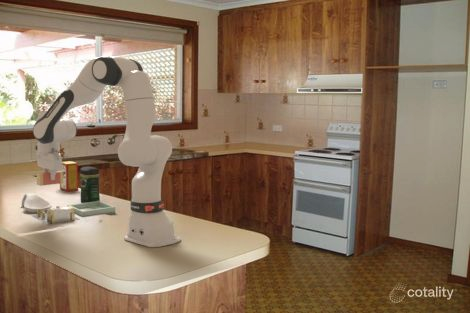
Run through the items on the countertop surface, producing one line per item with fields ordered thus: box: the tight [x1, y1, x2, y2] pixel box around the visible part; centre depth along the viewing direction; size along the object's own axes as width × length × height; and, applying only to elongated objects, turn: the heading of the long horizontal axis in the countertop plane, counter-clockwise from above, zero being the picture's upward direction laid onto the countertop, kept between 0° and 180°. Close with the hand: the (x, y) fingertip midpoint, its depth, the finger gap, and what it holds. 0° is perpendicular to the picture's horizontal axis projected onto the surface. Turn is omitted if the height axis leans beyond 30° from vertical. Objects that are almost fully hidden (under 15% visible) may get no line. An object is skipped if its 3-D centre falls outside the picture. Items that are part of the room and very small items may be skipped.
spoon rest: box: [21, 192, 53, 214], centre depth 223 cm, size 24×12×7 cm, turn 41°
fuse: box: [36, 171, 63, 187], centre depth 208 cm, size 4×10×5 cm, turn 132°
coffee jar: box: [79, 165, 101, 203], centre depth 238 cm, size 10×8×19 cm
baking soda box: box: [59, 160, 79, 192], centre depth 272 cm, size 10×6×16 cm
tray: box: [66, 200, 116, 217], centre depth 220 cm, size 16×16×3 cm
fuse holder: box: [31, 205, 81, 226], centre depth 206 cm, size 19×14×6 cm
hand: (50, 179), depth 208 cm, fingers closed on fuse, 4 cm apart
